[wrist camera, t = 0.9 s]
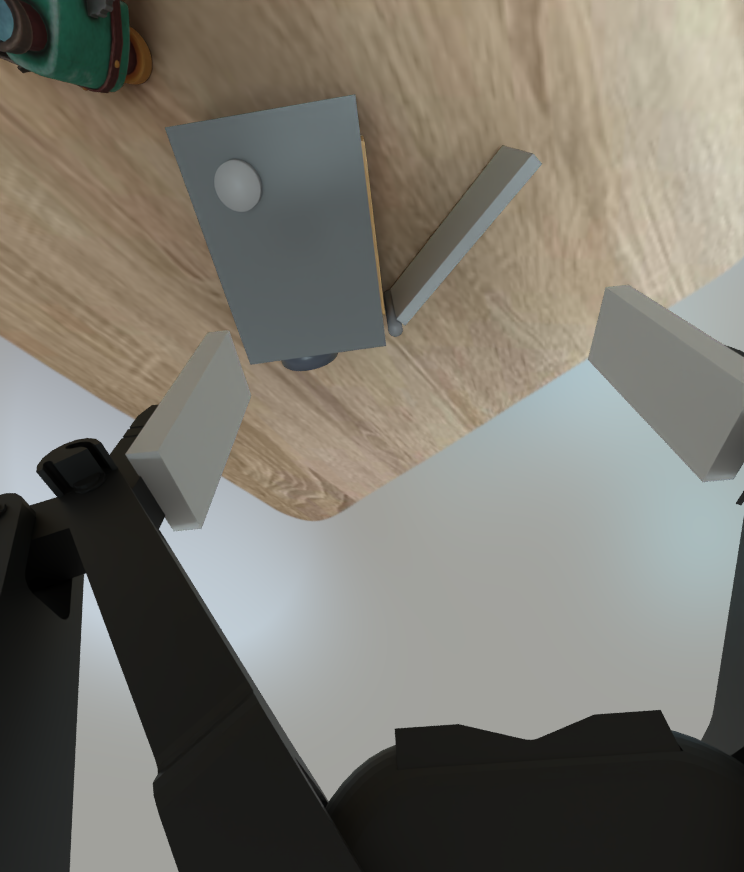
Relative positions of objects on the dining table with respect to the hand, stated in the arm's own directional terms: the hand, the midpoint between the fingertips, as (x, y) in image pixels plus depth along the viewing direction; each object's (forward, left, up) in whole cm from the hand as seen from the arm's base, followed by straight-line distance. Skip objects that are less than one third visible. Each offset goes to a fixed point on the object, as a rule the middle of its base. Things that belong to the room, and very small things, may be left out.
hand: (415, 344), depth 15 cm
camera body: (0, -6, -20) cm, 21 cm away
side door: (+2, +4, -20) cm, 21 cm away
